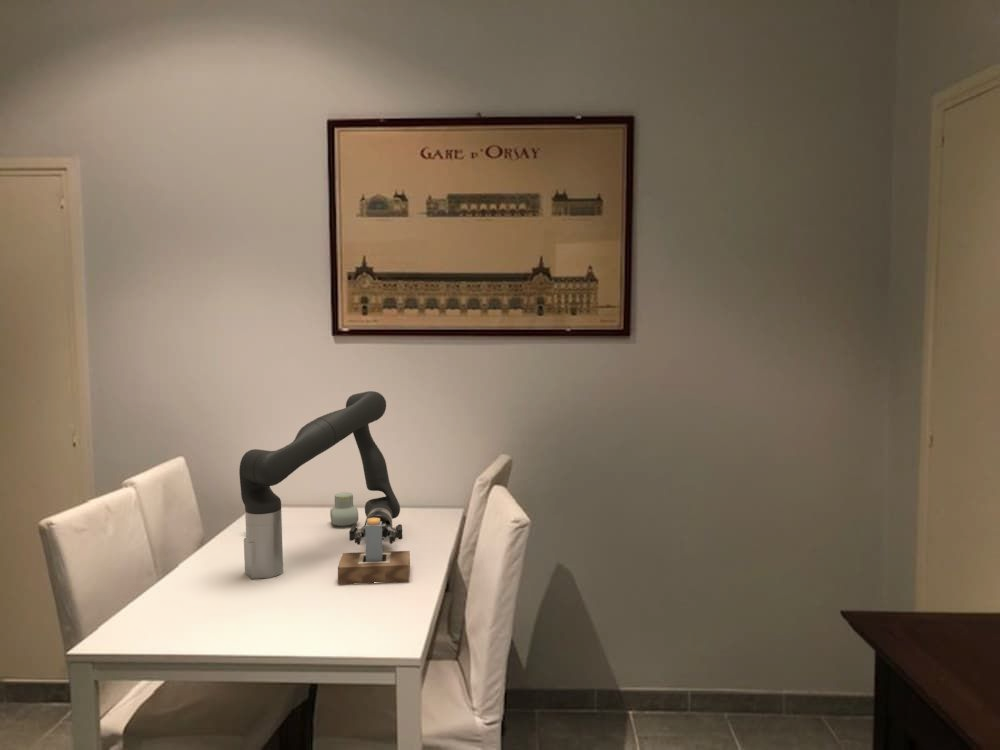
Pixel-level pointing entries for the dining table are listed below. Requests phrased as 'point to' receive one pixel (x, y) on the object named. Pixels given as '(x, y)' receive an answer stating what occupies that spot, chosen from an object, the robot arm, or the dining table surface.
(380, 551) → the peg
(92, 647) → the dining table surface
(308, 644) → the dining table surface
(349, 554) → the socket block
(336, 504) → the air freshener
